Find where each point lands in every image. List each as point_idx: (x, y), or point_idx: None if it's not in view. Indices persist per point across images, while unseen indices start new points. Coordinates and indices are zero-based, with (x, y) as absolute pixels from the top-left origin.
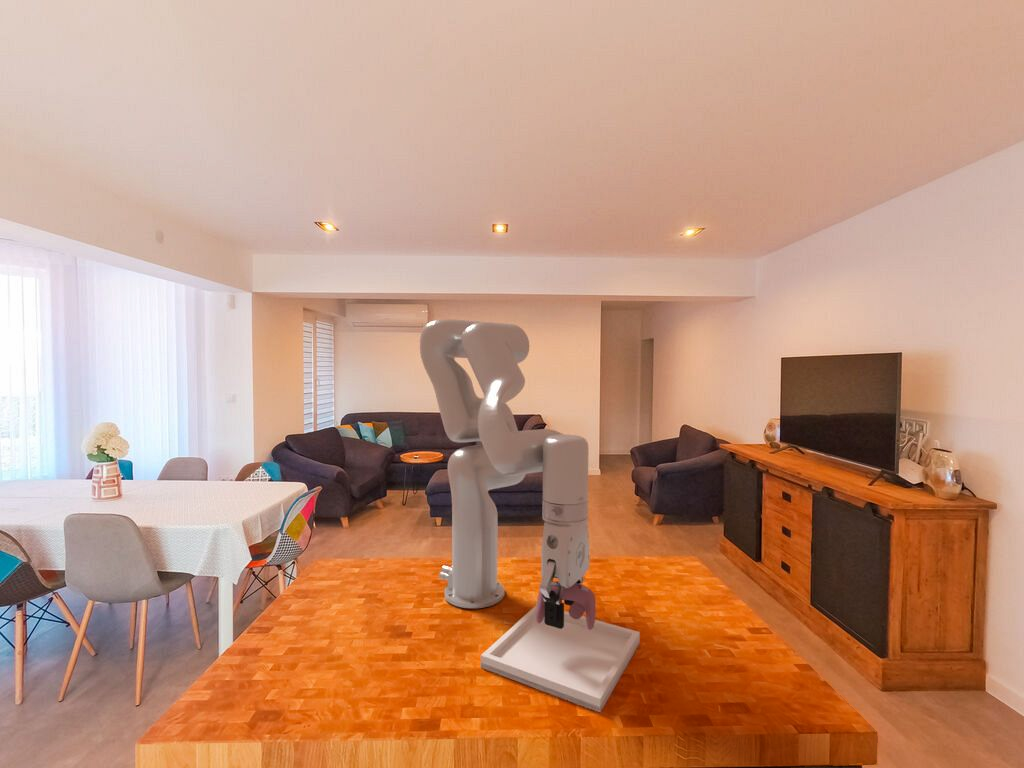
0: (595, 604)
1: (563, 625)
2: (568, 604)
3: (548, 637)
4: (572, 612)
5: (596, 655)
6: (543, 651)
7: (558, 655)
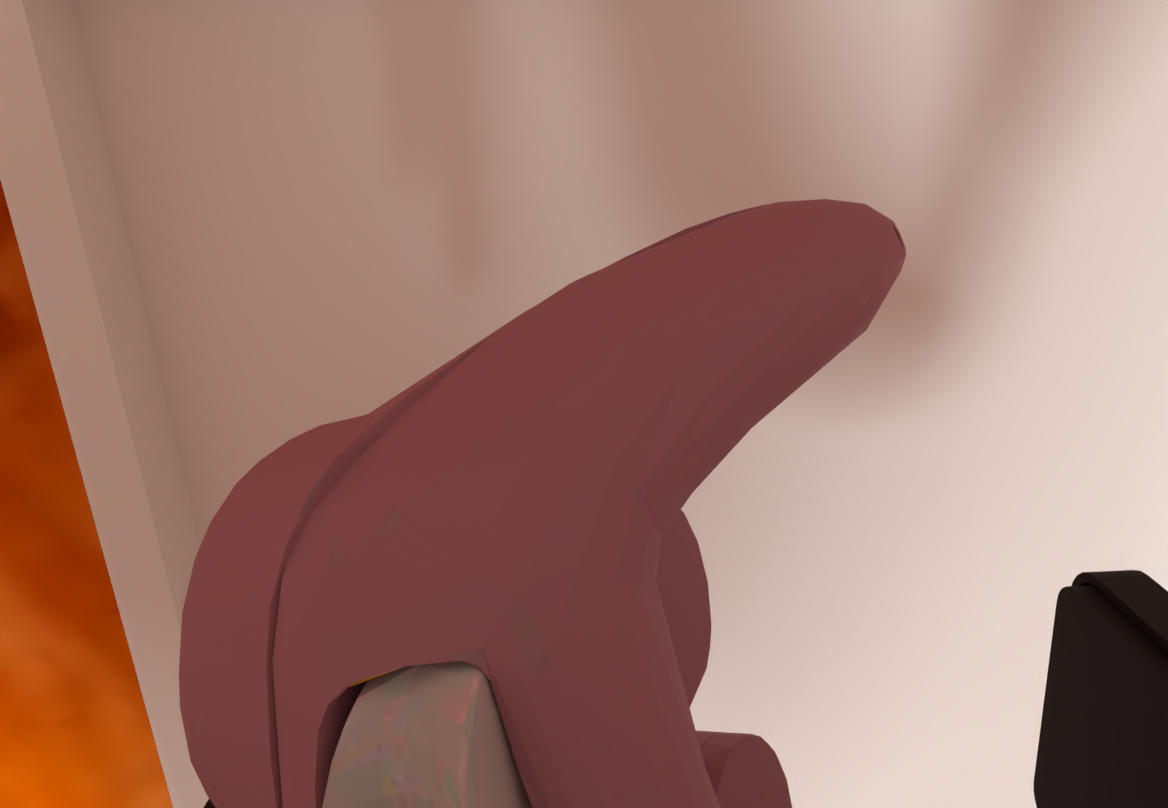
0: (470, 350)
1: (1118, 581)
2: None
3: None
4: (688, 634)
5: (584, 190)
6: (797, 613)
7: (785, 486)
